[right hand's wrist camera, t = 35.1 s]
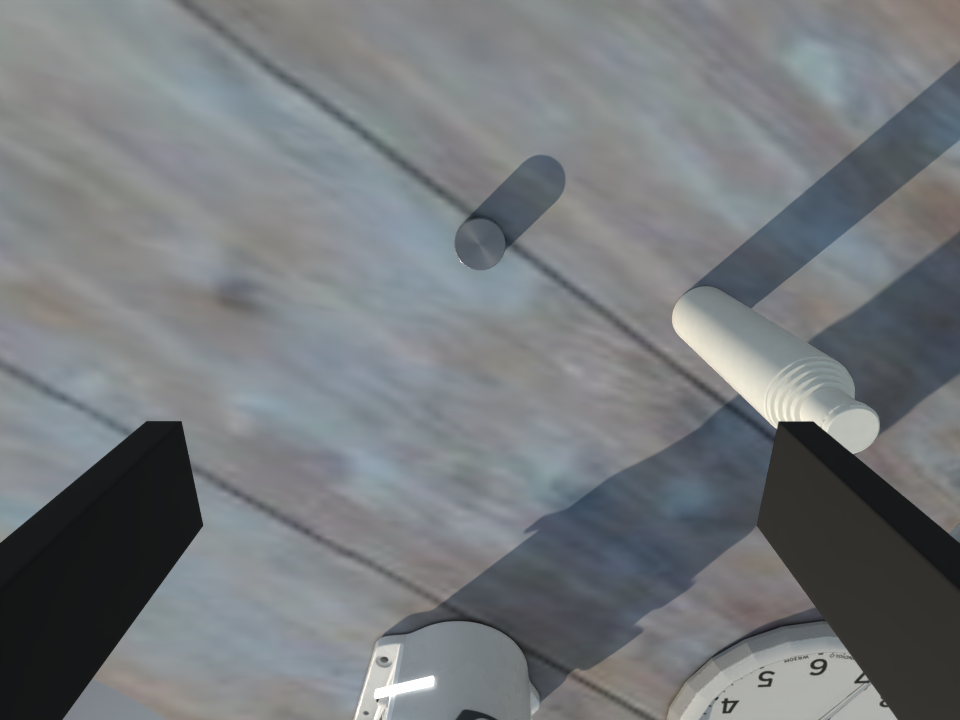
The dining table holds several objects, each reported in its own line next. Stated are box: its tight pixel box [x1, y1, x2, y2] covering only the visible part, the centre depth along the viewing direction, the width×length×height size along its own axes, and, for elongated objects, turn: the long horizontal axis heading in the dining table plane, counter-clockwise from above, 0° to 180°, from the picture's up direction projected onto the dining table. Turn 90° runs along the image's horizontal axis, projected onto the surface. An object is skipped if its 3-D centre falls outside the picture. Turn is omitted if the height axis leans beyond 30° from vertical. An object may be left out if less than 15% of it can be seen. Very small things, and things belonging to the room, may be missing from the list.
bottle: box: [672, 286, 880, 454], centre depth 37 cm, size 5×5×20 cm
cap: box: [454, 216, 505, 270], centre depth 43 cm, size 4×4×2 cm
